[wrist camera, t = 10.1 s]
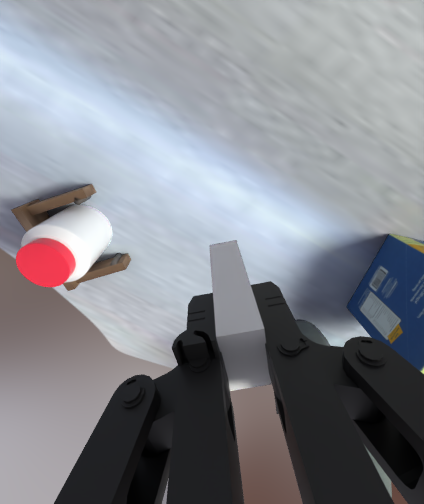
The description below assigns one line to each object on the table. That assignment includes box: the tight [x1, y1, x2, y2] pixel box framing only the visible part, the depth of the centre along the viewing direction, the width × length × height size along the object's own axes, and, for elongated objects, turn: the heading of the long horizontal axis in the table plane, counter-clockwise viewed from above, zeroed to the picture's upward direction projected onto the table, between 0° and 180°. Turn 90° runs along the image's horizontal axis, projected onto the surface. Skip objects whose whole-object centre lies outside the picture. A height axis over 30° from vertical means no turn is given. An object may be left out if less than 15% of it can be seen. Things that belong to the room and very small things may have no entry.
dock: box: [11, 184, 131, 291], centre depth 34 cm, size 13×9×4 cm
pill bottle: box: [16, 204, 113, 287], centre depth 31 cm, size 8×8×11 cm
